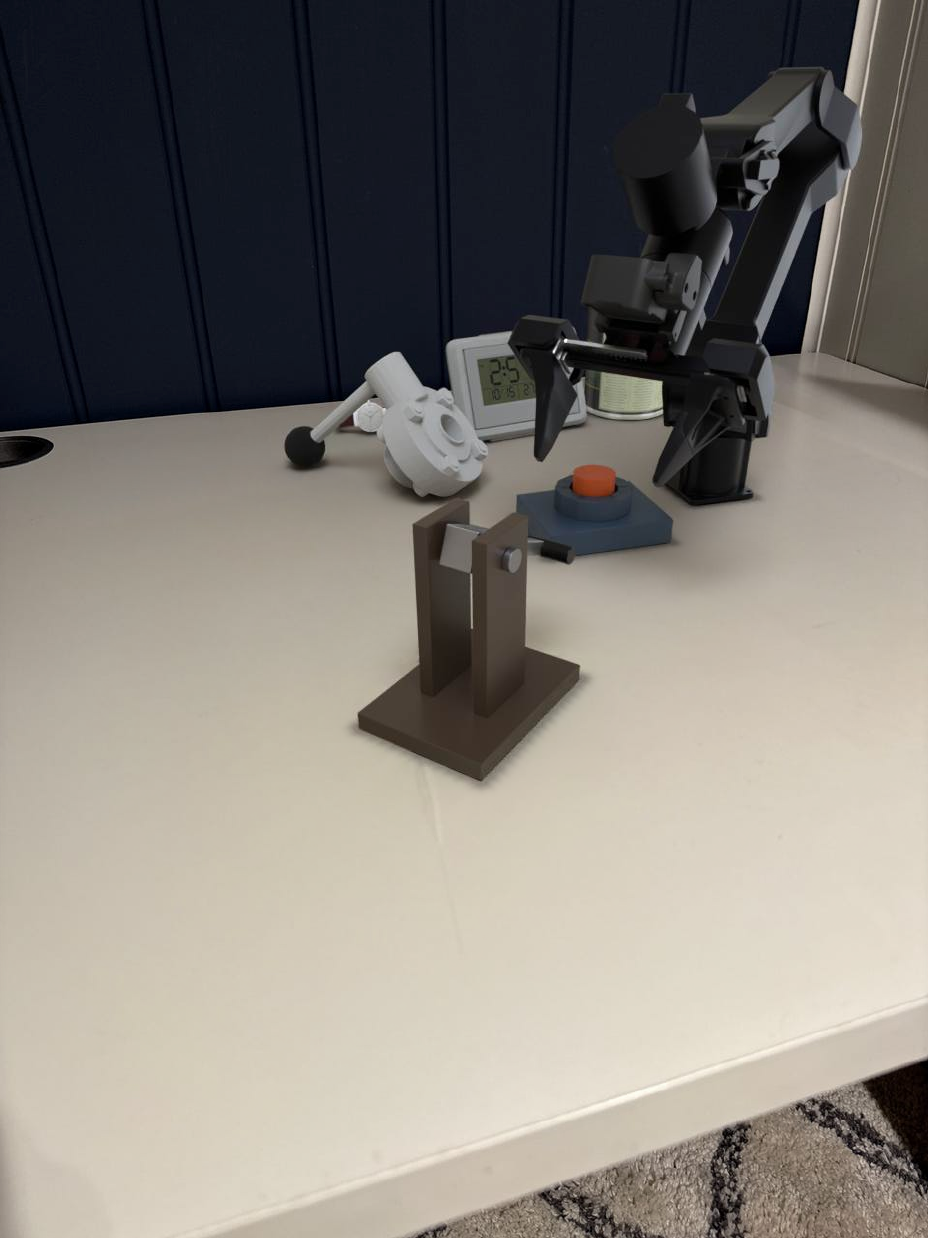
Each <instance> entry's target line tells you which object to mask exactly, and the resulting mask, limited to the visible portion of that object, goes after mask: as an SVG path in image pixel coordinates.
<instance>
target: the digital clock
mask: <svg viewBox="0 0 928 1238" xmlns="http://www.w3.org/2000/svg"><path fill="white" fill-rule="evenodd" d="M572 327H573V329H574V331H575V333H576V334H577V331H576V329H575V327H574V326H572ZM512 331H513V330H509V331H502V332H494V333H493V332H492V333H486V334H479V335H478V336H472V337H471V336H470V337H464V338H463V337H462V338H456V339H455V338H454V339H452V340H450V341H449V342H447V343H446V345H445V356H446V364H447V371H448V377H449V383H450V384H449V385H450V390H451V394H452V396H453V398H454V404H455V405H456V406H457V407H458V408H459V410H460V411H461V412H462V413H463V414H464V416H465V417H466V418H467V419H468V421H469V423H470V424H471V426H472V427H473V429H474V431H475V433H476V435H477V437H478V440H481V441H483V442H484V441H489V442H491V443H492V442H499V441H505V440H509V439H516V438H520V437H521V438H523V437H527V436H528V437H529V436H532V435H534V434H535V413H536V392H535V381H533V380H531V379H530V378H529V376H528V374H527V373H526V371H525V370H524V368H523V367H522V365H521V364H520V362H519V361H518V359H517V358H516V356H515V354H514V353H513V351H512V350H511V348H510V347H509V345H508V344H507V343H508V341H509V338H510V336H511V334H512ZM573 387H574V389H575V391H576V393H577V394H578V396H577V398H576V400H575V402H574V404H573V406H572V408H571V410H570V412H569V414H568V416H567V418H566V420H565V422H564V425H563V427H562V428H565V427H571V426H575V425H580V424H583V423H584V422H585V421H586V420H587V415H588V414H587V413H588V412H587V411H586V403H585V395H584V387H585V386H584V380H583V378H582V379H581V381H580V382H579V383H577V384H575V385H574V386H573Z"/></svg>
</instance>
